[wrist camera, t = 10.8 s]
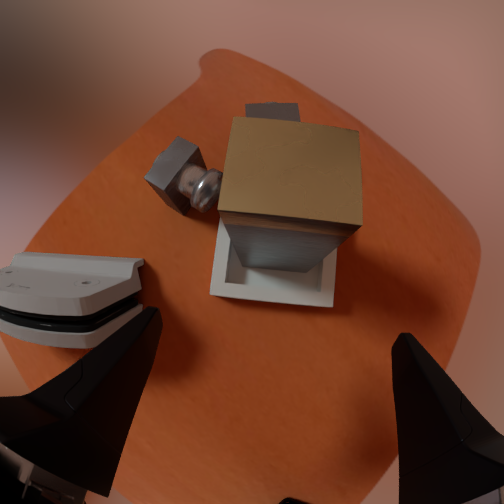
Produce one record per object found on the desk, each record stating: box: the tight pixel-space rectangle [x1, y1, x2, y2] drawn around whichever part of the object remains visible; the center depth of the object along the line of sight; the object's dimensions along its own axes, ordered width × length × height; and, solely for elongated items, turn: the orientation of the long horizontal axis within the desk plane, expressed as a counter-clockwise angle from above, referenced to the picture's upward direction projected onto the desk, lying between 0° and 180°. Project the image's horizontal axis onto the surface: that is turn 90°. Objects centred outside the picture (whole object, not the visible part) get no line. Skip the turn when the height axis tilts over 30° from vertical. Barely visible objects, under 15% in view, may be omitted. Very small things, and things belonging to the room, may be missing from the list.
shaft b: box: [144, 136, 223, 216], centre depth 21 cm, size 5×4×6 cm
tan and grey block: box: [217, 117, 363, 273], centre depth 16 cm, size 5×4×13 cm
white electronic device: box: [0, 252, 144, 349], centre depth 19 cm, size 17×5×10 cm, turn 87°
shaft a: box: [245, 102, 300, 122], centre depth 22 cm, size 5×4×6 cm
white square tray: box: [210, 217, 337, 307], centre depth 22 cm, size 9×9×2 cm
